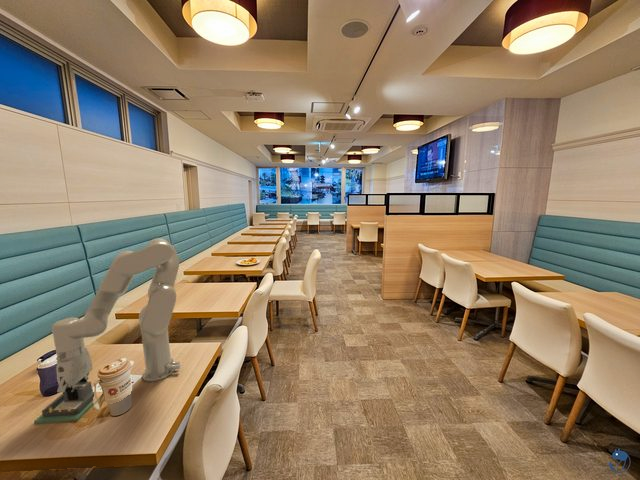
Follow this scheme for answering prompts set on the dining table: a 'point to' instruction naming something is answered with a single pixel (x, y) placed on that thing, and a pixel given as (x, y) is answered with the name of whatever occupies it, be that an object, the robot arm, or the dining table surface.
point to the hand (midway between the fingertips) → (78, 394)
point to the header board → (65, 410)
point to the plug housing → (80, 391)
